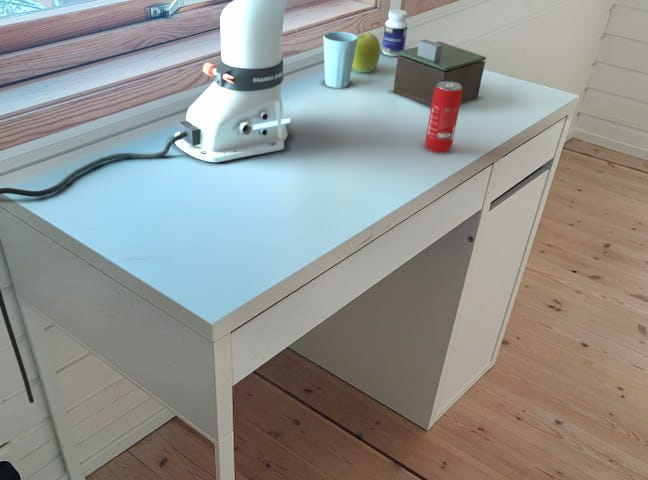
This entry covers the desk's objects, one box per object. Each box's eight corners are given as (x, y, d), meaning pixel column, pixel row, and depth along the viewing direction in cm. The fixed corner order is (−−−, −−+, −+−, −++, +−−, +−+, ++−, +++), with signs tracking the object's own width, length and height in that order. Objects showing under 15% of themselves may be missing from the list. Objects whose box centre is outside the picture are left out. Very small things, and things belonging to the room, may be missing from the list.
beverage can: (423, 151, 132) (434, 88, 124) (425, 141, 136) (436, 79, 128) (450, 155, 131) (462, 91, 123) (451, 144, 135) (464, 82, 127)
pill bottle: (379, 54, 177) (384, 13, 170) (384, 48, 181) (389, 7, 174) (401, 57, 175) (407, 15, 169) (405, 51, 179) (411, 10, 173)
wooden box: (438, 110, 148) (444, 72, 143) (393, 92, 156) (397, 55, 151) (477, 97, 155) (485, 61, 150) (432, 80, 163) (438, 45, 158)
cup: (360, 86, 158) (364, 38, 151) (334, 91, 155) (337, 43, 148) (340, 76, 163) (343, 29, 156) (314, 81, 160) (317, 34, 153)
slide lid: (445, 71, 143) (448, 53, 141) (398, 54, 151) (400, 36, 148) (485, 59, 150) (489, 42, 147) (438, 44, 157) (441, 27, 155)
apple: (389, 65, 167) (385, 25, 159) (366, 81, 165) (361, 42, 157) (366, 57, 171) (361, 18, 164) (343, 72, 169) (337, 33, 161)
